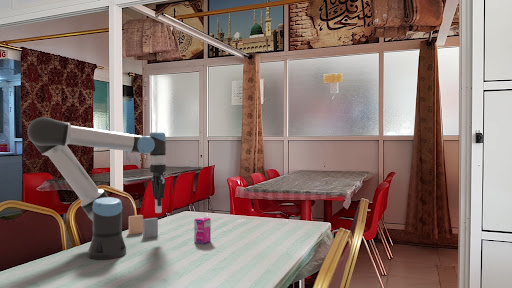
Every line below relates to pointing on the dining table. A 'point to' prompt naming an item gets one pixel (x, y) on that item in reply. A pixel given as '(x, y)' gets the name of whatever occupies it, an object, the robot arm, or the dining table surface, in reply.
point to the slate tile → (150, 227)
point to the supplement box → (202, 230)
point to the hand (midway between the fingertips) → (158, 212)
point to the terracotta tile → (135, 224)
